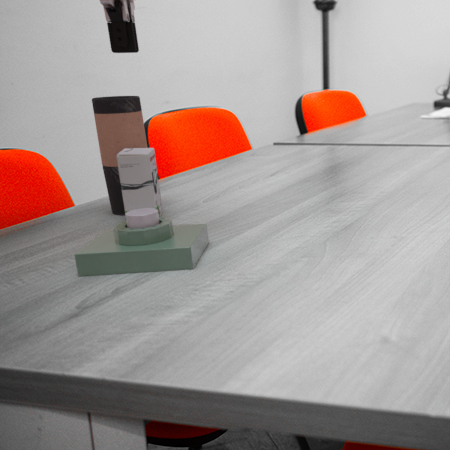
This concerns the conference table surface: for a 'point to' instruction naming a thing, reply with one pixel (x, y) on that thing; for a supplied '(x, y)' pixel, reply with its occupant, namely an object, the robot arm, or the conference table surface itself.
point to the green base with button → (143, 249)
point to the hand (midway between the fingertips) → (125, 52)
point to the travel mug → (117, 138)
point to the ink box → (139, 179)
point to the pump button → (142, 218)
